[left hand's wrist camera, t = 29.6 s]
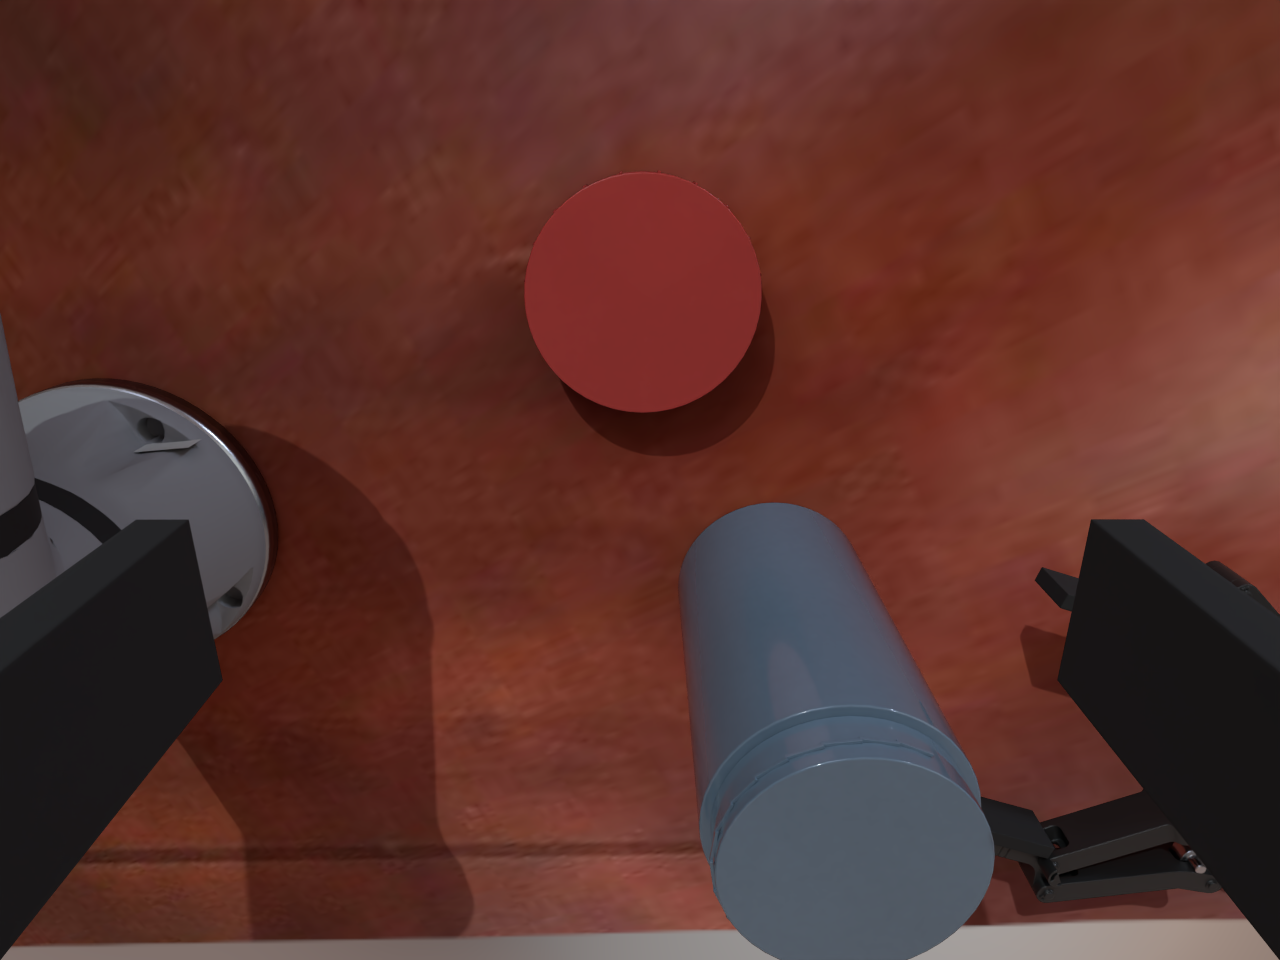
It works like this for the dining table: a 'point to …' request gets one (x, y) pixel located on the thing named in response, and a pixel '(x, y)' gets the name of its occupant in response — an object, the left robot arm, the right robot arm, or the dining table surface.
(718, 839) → the jar
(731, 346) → the lid
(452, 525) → the dining table surface
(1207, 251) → the dining table surface
